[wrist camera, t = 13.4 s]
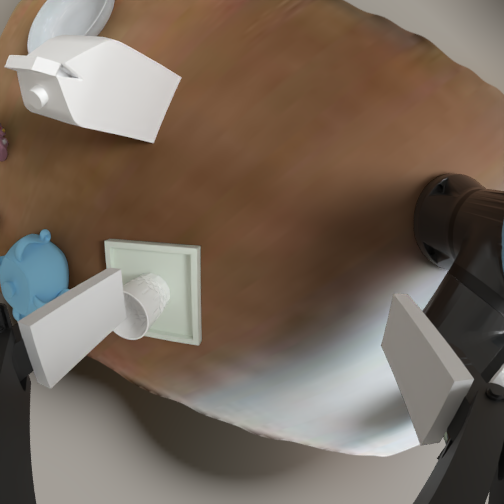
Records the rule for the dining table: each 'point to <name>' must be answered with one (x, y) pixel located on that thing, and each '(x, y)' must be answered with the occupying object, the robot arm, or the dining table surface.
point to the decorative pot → (33, 273)
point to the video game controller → (3, 144)
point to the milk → (96, 85)
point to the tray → (176, 276)
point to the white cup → (142, 305)
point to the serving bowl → (69, 20)
